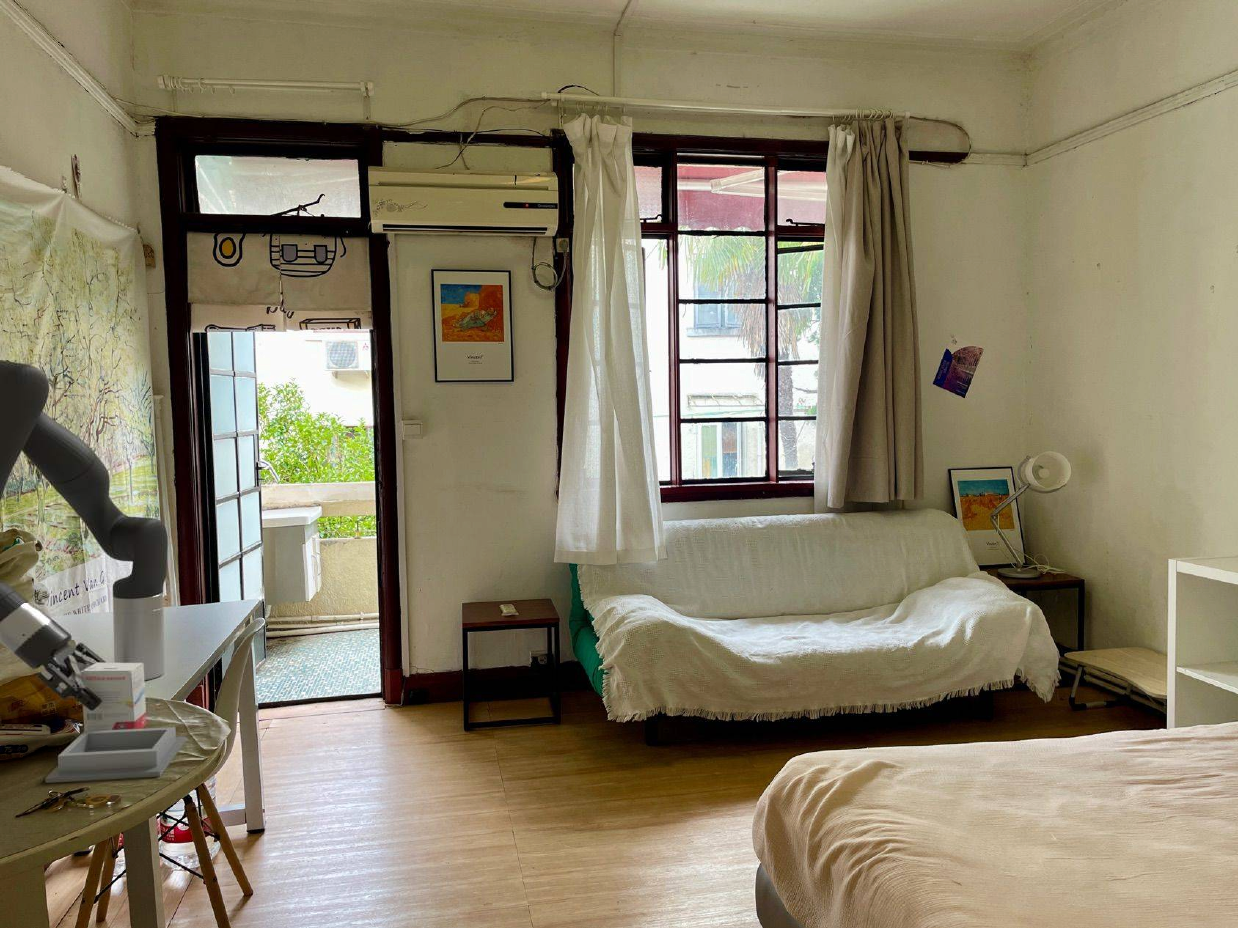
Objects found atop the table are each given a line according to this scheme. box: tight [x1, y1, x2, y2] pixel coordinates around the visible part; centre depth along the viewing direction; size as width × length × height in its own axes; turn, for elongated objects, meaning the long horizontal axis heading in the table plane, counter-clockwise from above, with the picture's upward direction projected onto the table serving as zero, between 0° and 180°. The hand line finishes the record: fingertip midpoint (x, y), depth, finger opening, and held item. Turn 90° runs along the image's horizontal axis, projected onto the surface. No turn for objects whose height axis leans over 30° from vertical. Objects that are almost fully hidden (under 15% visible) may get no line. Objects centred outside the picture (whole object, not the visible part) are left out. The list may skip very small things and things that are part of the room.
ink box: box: [81, 662, 147, 732], centre depth 153 cm, size 9×5×12 cm, turn 93°
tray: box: [45, 726, 187, 784], centre depth 141 cm, size 14×16×3 cm
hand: (107, 697), depth 153 cm, fingers open, 8 cm apart
